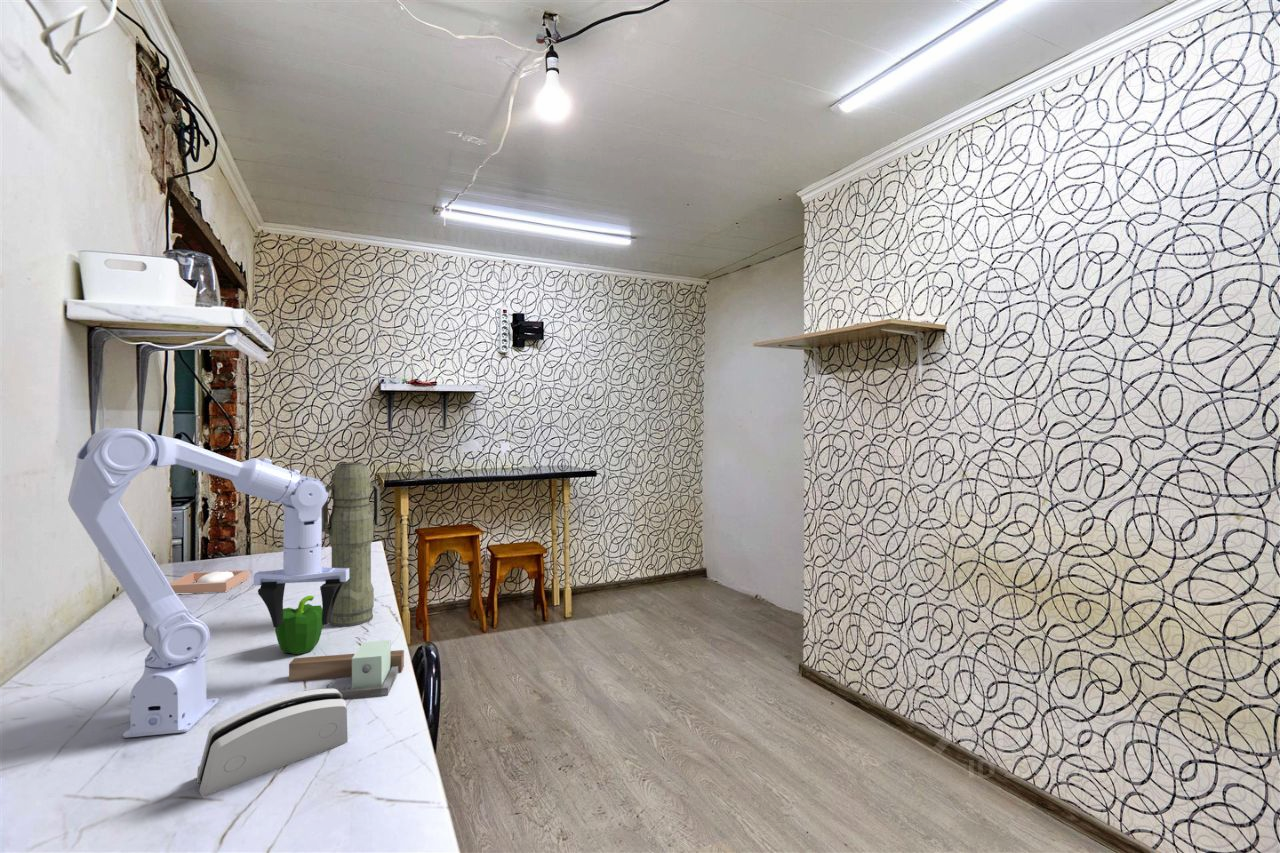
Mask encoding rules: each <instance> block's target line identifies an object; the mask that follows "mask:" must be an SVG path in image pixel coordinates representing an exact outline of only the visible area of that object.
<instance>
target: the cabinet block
mask: <svg viewBox="0 0 1280 853" xmlns="http://www.w3.org/2000/svg"><path fill="white" fill-rule="evenodd" d="M356 650H357V651H356V652H355V653H354V654H355V655H354V656H353V658H352V676H351V689H356V688H367V687H379V686H383V684H384V682H385V680H386V678H387V676H388V674H389V672H390V670H391V658H390V651H391V640H390V639H389V640H378V641H377V640H375V641H373V640H372V641H363V642H362V643H361V644H360V646H359V647H358V649H356Z"/></svg>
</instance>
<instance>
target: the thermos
mask: <svg viewBox="0 0 1280 853" xmlns="http://www.w3.org/2000/svg"><path fill="white" fill-rule="evenodd" d="M325 489H326V492H328V493H330V491H331V499H332V505H331V512H330V515H329V497H328V498H327V501H326V503H325V504H324V505H323V506H322V510H321V518H322V532H323V533H325V534H326V535H328V542H329V545H330V547H331V568H349V579H348V580H347V581H346V582H344V583H343V585H342V587H341V589H340V591H339V593H338V596H337V598H336V601H335V604H334V607H333V610H332V614H331V620H330V622H329V624H330V625H331V626H333V627H336V628H346V627H347V628H348V627H349V628H350V627H355V625H356V626H359V625H360V626H361V625H363V623H364V624H366V623H369V622H370V621H372V620H373V618H374V615H373V610H374V609H373V608H374V602H375V600H374V596H375V595H374V591H375V588H374V587H373V584H372V565H371V564H372V542H373V540H374V531H375V529H378V528H380V526H381V525H380V524H381V488H380V486H379V485H378V484H377V483H376V482H372V481H371V475H370V472H369V469H368V466H367V464H366V463H363V462H356V461H355V462H352V461H351V462H339V464H336V465H335V467H334V469H333V473H332V477H331V484H330V485H328V486H325ZM371 489H373V513H372V510H371V503H370V497H371Z"/></svg>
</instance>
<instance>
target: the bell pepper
mask: <svg viewBox="0 0 1280 853" xmlns="http://www.w3.org/2000/svg"><path fill="white" fill-rule="evenodd" d="M314 598H315V597H314V595H307V596H305V597H303V598H302V599H301V600H300V601H299V603H298V607H296V608H291V607H287V608H283V623H282V624H281V625H280V626H279V627H274V631H275V635H276V639H277V643H278V646H279V648H280V650H281V651H282V653H284V654H289V653H291V654H294V655H299V654H305V653H308V652H311V651H313V650H314V649H315V648H316V646H317V645H318V643H319V641H320V639H321V635H322V631H323V626H324V625H322V605H312V604H310V603H307V602H308V601H310V602H312V601H313V600H314Z"/></svg>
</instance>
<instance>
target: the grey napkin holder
mask: <svg viewBox="0 0 1280 853" xmlns="http://www.w3.org/2000/svg"><path fill="white" fill-rule="evenodd" d="M345 700H346V699H342V694H341V693H340V692H339V690H338V689H336V688H319V689H318V688H317V689H310V690H304V691H298V692H294V693H290V694H286V695H282V696H279V697H275V698H273V699H270V700H267V701H264V702H261V703H259V704H256V705H253V706H252V707H249V708H247V709H245V710H242V711H240V712H238V713H235V714H234V715H231V716H230V717H228V718H225V719H224V720H222V721H220V722H219V723H216V724H215V725H213V726H212V727H211V728H210V729H209V731H208V734H207V738H206V741H205V746H204V749H203V753H202V756H201V760H200V764H199V765H198V767H197V774H196V783H200V786H199V789H198V792H199V793H200V794H201V796H202V797H206V796H209V795H212V794H214V793H217V792H219V791H222V790H224V789H227V788H230V787H233V786H235V785H238V784H241V783H243V782H246V781H249V780H251V779H254V778H256V777H259V776H261V775H262V776H263V775H264V774H267V773H269V772H272V771H275V770H278V769H280V768H283V767H285V766H288V765H292V764H293V763H296V762H298V761H301V760H304V759H307V758H309V757H312V756H315V755H317V754H319V753H322V752H326V751H328V750H331V749H333V748H335V747H339V746H341V745H344V744H346V743H349V742H348V707H347V702H346V701H345Z"/></svg>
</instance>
